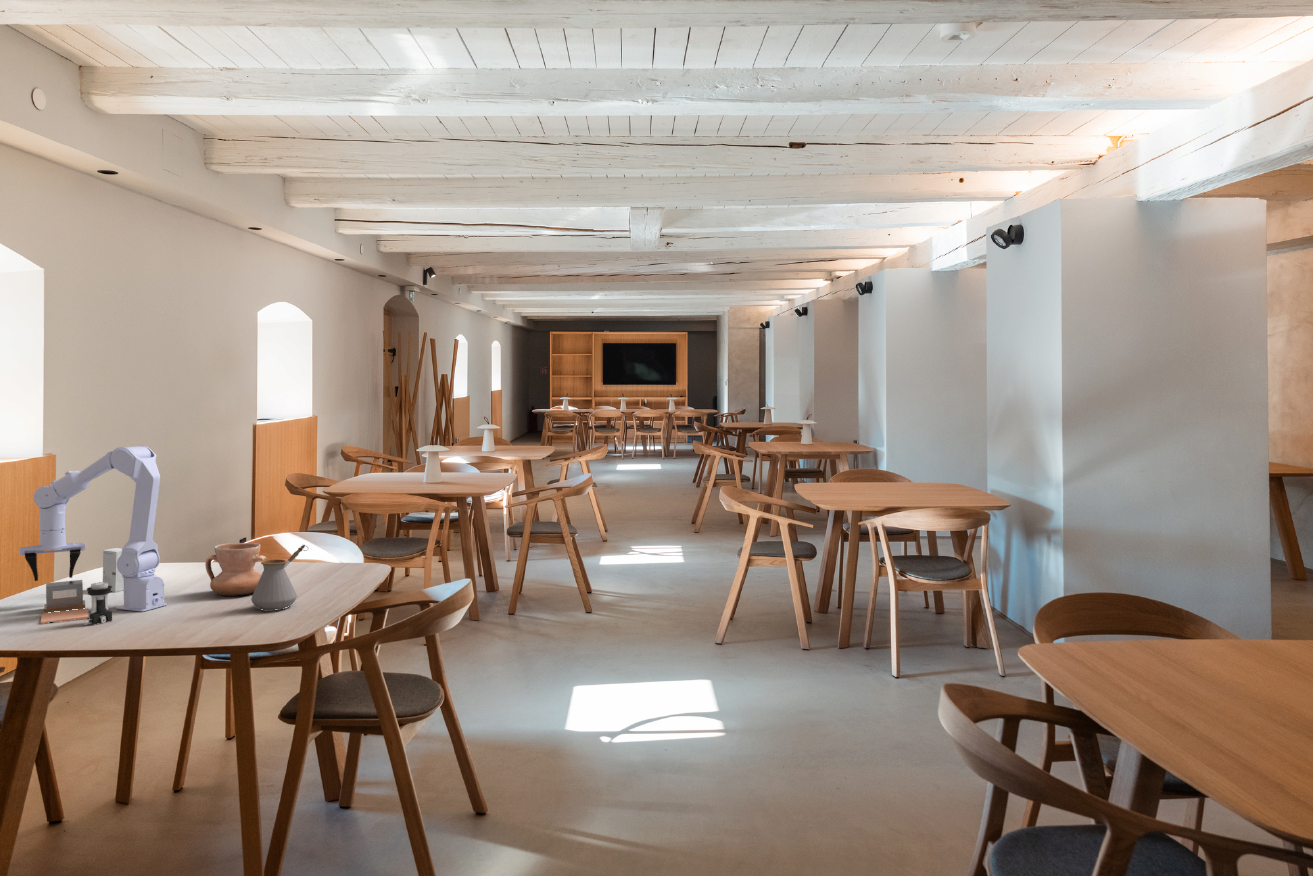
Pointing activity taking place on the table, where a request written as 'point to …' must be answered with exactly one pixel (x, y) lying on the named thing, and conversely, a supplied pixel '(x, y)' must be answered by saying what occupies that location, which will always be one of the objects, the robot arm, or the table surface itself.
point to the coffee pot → (275, 585)
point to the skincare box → (112, 569)
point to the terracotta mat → (64, 615)
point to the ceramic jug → (235, 568)
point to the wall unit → (64, 596)
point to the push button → (99, 603)
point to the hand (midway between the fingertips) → (53, 578)
